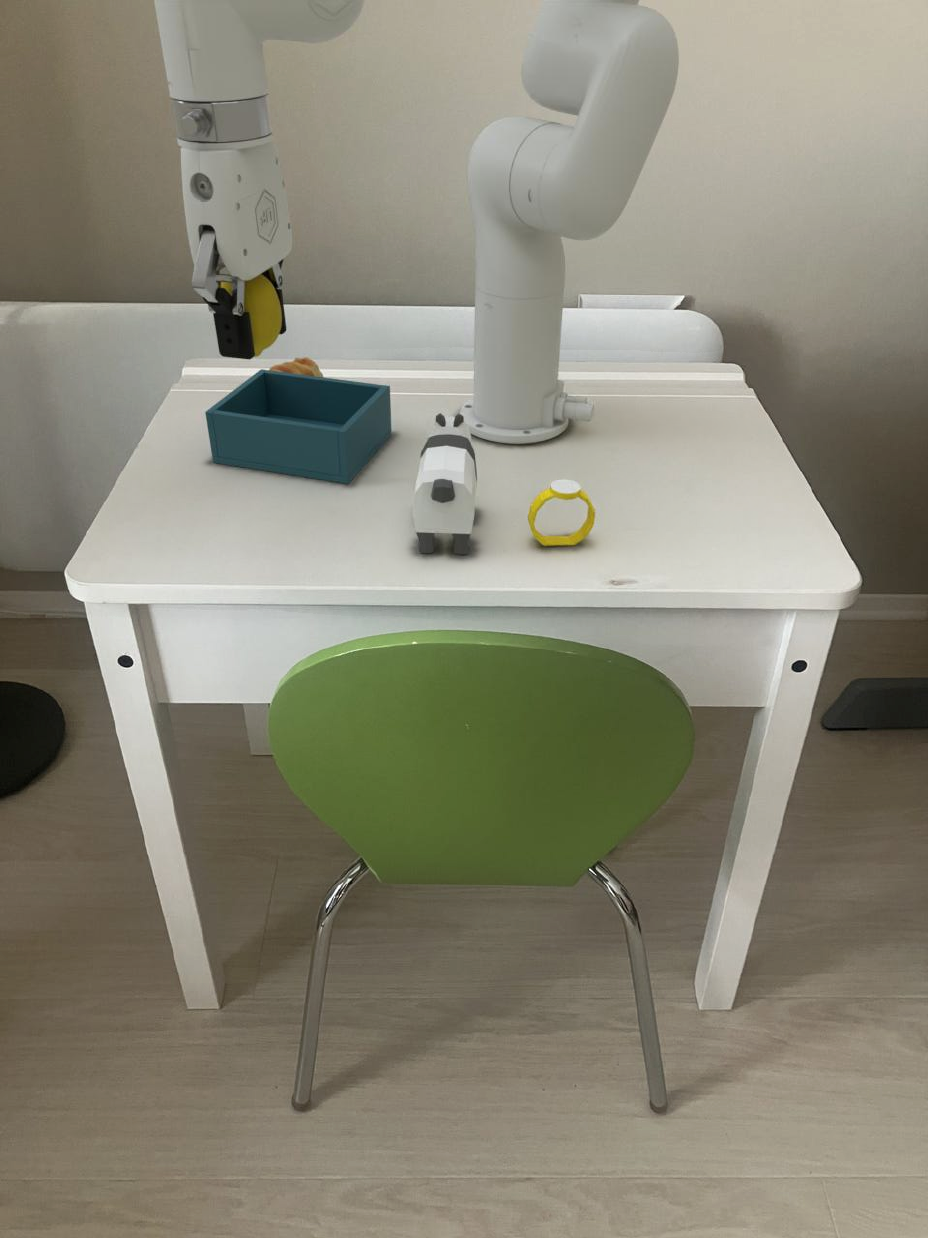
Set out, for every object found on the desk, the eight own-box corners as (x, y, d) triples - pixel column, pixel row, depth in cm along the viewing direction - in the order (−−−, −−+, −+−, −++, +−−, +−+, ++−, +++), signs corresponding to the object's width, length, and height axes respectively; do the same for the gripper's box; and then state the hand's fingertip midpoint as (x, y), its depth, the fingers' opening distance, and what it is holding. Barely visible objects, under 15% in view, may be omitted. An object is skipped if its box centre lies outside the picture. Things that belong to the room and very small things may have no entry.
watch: (530, 552, 89) (533, 495, 85) (524, 537, 91) (527, 480, 88) (594, 548, 90) (600, 491, 86) (586, 533, 92) (592, 477, 88)
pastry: (272, 415, 113) (269, 384, 111) (236, 400, 117) (231, 370, 115) (331, 392, 119) (329, 362, 117) (295, 378, 123) (292, 349, 120)
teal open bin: (391, 434, 109) (390, 385, 106) (348, 484, 100) (344, 431, 96) (266, 416, 113) (261, 368, 110) (212, 462, 103) (204, 411, 100)
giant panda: (473, 562, 87) (474, 466, 82) (412, 560, 88) (409, 464, 82) (478, 486, 99) (480, 398, 94) (424, 484, 100) (423, 396, 94)
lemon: (274, 369, 85) (262, 277, 81) (215, 365, 86) (200, 274, 81) (295, 347, 90) (284, 258, 85) (238, 343, 91) (225, 255, 86)
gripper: (212, 144, 69) (248, 385, 80) (311, 105, 82) (330, 316, 93) (120, 139, 71) (167, 375, 82) (231, 102, 84) (259, 309, 95)
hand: (254, 342), depth 87 cm, fingers closed on lemon, 5 cm apart
